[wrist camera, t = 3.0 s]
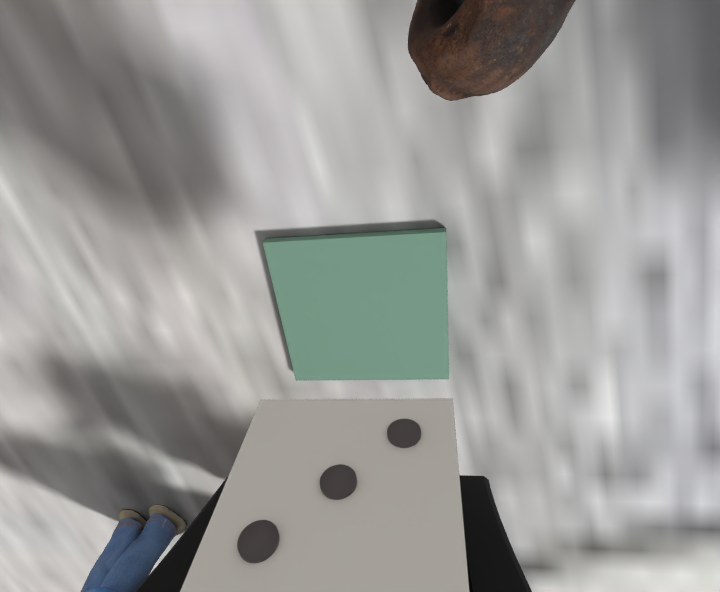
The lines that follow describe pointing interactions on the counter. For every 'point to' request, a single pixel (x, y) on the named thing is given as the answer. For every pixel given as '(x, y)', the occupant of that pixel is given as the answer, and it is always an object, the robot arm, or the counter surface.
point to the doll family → (133, 550)
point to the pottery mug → (480, 42)
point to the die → (339, 502)
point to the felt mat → (363, 304)
